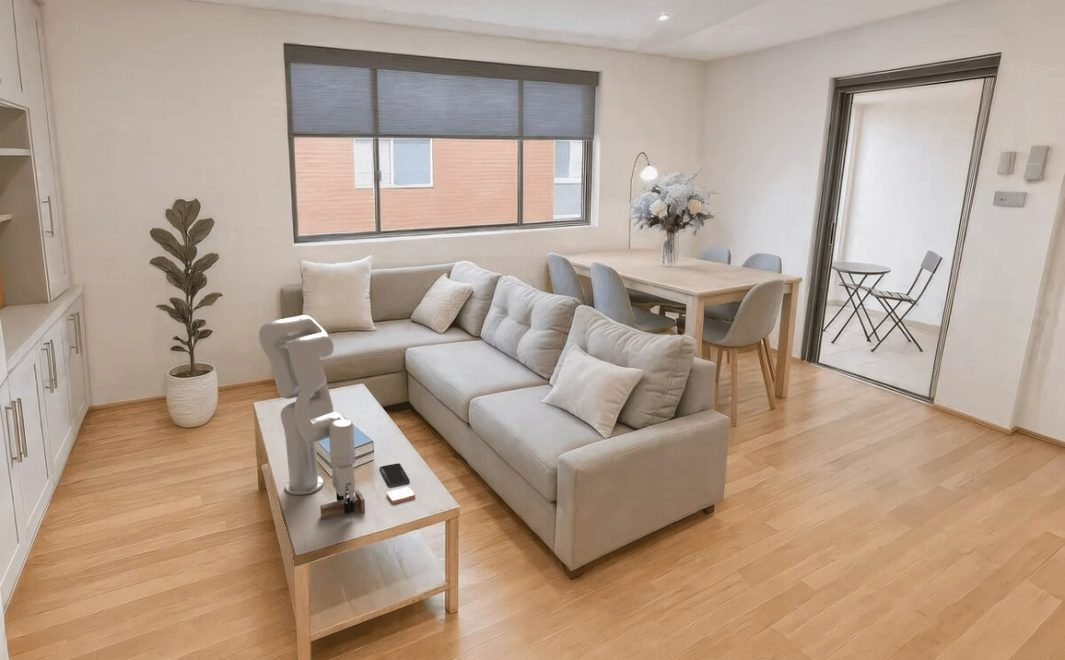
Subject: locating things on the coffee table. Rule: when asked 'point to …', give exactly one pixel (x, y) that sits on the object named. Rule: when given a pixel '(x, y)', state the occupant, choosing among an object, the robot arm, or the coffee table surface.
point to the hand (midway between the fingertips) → (345, 505)
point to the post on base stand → (342, 506)
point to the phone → (394, 475)
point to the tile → (400, 495)
